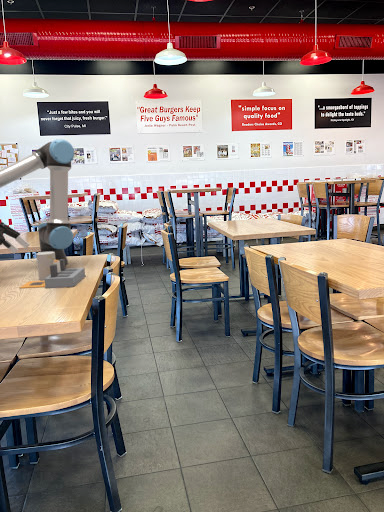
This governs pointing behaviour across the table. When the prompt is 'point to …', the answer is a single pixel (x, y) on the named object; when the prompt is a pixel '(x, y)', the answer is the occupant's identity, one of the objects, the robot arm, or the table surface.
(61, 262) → the grey switch box
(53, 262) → the toggle
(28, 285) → the pad
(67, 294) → the table surface
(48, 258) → the white closed cylinder
